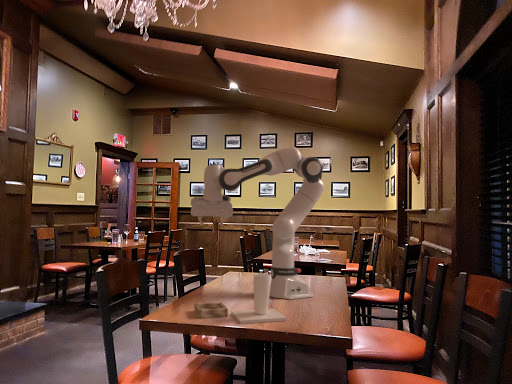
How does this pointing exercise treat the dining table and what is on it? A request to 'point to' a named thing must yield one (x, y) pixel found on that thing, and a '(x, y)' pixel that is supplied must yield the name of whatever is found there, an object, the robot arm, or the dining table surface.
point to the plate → (257, 316)
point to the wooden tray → (210, 310)
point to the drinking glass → (261, 293)
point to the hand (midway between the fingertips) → (211, 225)
